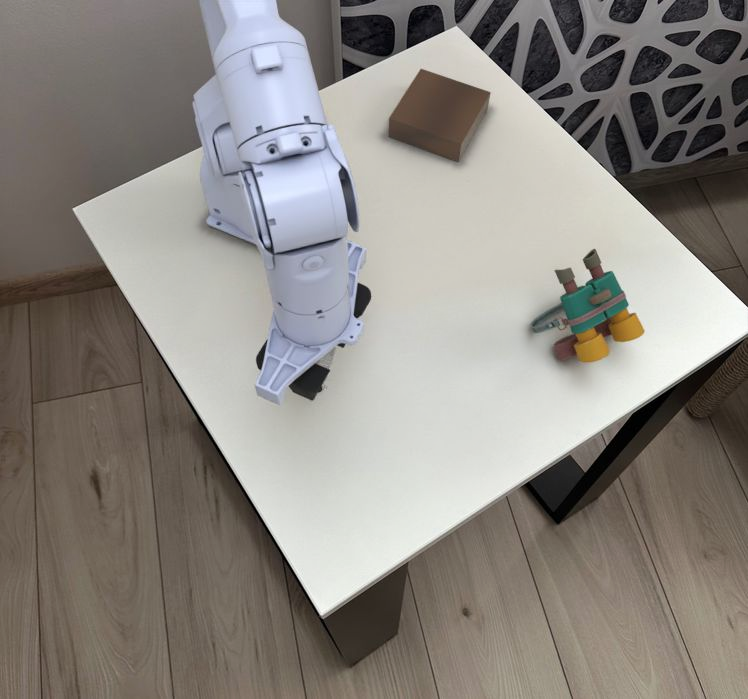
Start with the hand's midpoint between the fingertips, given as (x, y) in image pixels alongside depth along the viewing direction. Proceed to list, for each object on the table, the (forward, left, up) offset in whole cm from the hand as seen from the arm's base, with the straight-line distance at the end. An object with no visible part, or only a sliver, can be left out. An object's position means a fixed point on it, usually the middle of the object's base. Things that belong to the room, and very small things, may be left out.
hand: (319, 366), depth 67 cm
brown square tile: (-5, +39, -8) cm, 40 cm away
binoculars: (+20, +18, -9) cm, 28 cm away
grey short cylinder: (0, 0, -2) cm, 2 cm away
